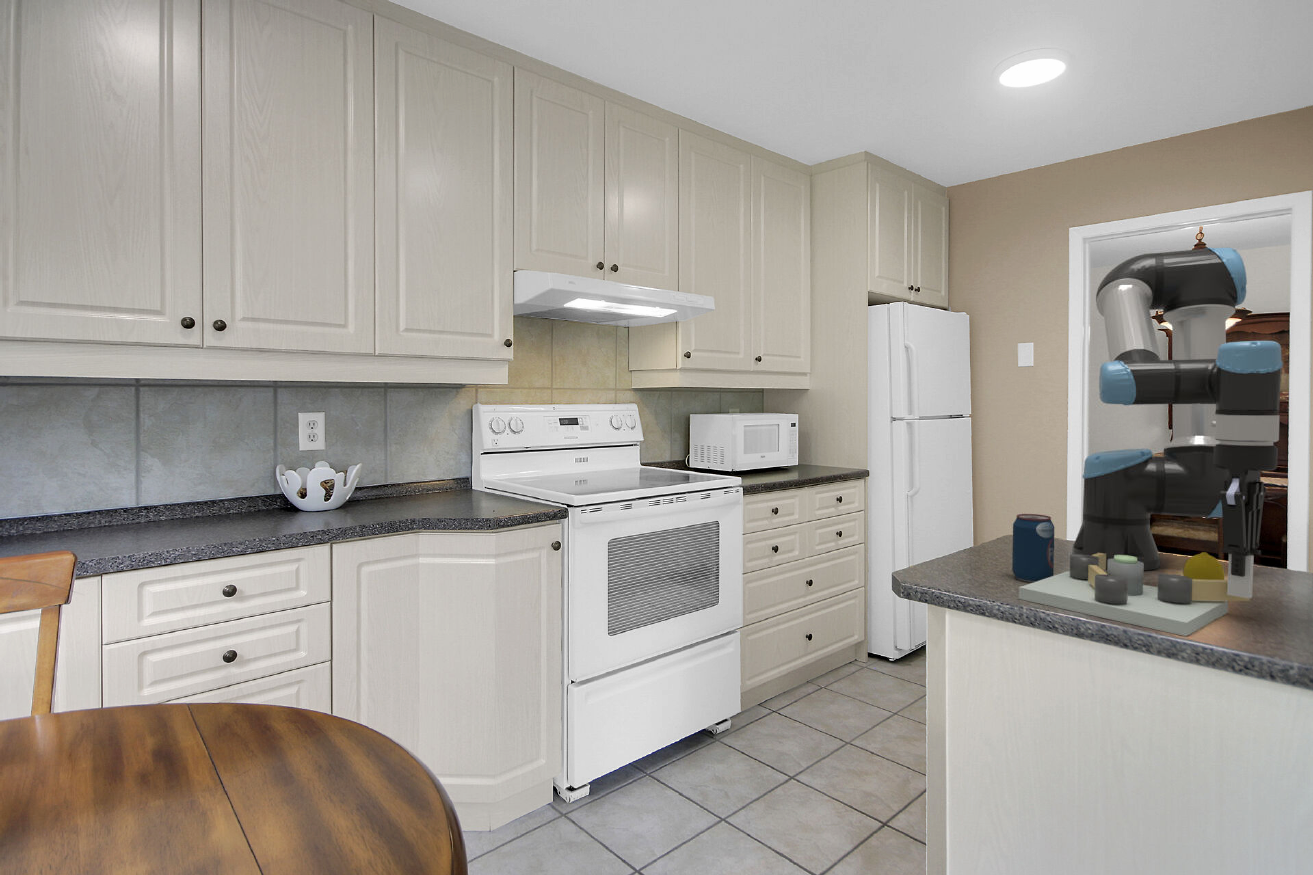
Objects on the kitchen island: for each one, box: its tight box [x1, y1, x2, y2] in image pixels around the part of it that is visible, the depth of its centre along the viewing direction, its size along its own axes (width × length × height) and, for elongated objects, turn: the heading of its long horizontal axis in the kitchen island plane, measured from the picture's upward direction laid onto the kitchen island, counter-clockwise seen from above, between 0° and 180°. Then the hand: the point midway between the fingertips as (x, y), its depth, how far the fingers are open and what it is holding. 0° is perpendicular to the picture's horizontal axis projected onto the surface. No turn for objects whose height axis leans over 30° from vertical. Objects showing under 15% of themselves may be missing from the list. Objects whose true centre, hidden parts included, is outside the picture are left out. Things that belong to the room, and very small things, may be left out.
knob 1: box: [1069, 553, 1107, 579], centre depth 128 cm, size 10×4×4 cm, turn 126°
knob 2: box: [1157, 573, 1251, 603], centre depth 111 cm, size 13×4×4 cm, turn 83°
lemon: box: [1182, 551, 1226, 580], centre depth 119 cm, size 6×6×8 cm
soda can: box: [1011, 513, 1055, 583], centre depth 133 cm, size 7×7×12 cm
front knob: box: [1088, 565, 1128, 604], centre depth 116 cm, size 13×4×4 cm, turn 162°
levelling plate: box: [1018, 555, 1229, 637], centre depth 116 cm, size 18×24×8 cm
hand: (1239, 595), depth 109 cm, fingers closed
